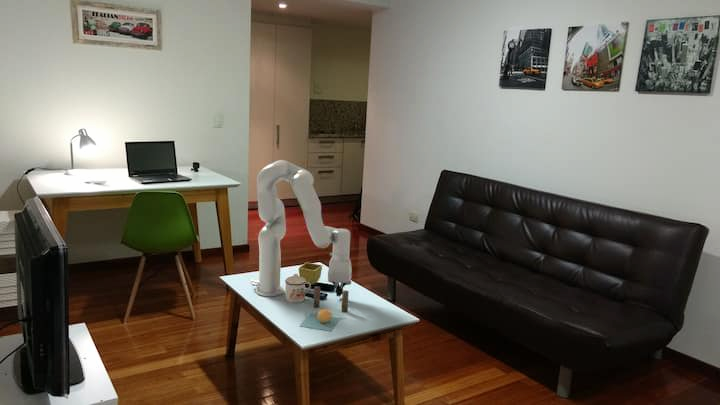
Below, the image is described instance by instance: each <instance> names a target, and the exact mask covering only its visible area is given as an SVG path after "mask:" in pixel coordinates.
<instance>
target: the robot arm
mask: <svg viewBox="0 0 720 405" xmlns="http://www.w3.org/2000/svg"><path fill="white" fill-rule="evenodd" d="M314 180H315V179H314V176H313V174H312V173H311V172H310V171H309V170H307V169H305V168H303V167H300V166H299V165H296V164H294V163H292V162H289V161H287V160H285V159H279V160H276V161H275V162H274V161H273V162H272V163H270V164H268V165H266V166H265V167H264V168H262V169H261V170H260V171H259V173H258V175H257V178H256V192H257V209H258V216H259V218H260V220H261V221H263V222H264V223H265V225H264V226H263V227H262V228H261V229H260V231H259V233H258V237H257V238H258V240H257V241H258V250H259V258H258V259H259V264H258V265H259V266H258V267H259V268H258V269H259V270H258V277H259V278H258V280H256V279H251V282H250V283H251V287H256V288H255V293H256V295H259V296H262V297H276V296H279V295H282V294H284V287H283V286H281V264H282V263H281V257H282V256H281V255H282V254H281V252H282V250H281V241H282V239H284V237H285V235H286V232H287V225H286V224H287V223H286V210H285V206H284V203H283V201H282V200H281V199H280V198H278V193H277V186H276V184H277V183H279V182H281V181H286V182H289V183H290V184H291V188H292V190H293V192H294V194H295V196H296V198H297V201H298V203H299V206H300V208H301V210H302V213H303V218H304V220H305V225H306V228H307V231H308V233H309V236H310V237H311V240H312V242H313V243H314V245H315V246H316V247H317V248H319V249H320V248H321V249H325V248H328V247H329V245H331V244H332V252H329V255H328V256H330V257H331V258H330V260H329V265H328V272H327V281H328V282H329V283H331V284H332V285H334V288H335V294H336V297H342V291H344V287H345V286H349V285H351V284H352V276H353V274H352V273H353V272H352V270H353V269H352V261H351V259H350V254H351V253H350V248H351V231H350V230H349V229H347V228H336V227H333V226H327V225H325V224H324V221H323V218H322V217H323V216H322V203H321V201H320V199H319V196H318V195H317V193H316V190H315V188H314Z"/></svg>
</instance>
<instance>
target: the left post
mask: <svg viewBox="0 0 720 405" xmlns="http://www.w3.org/2000/svg"><path fill="white" fill-rule="evenodd" d="M313 287H314V288H313V290H314V291H313V308H314V309H320V305H321V304H320V303H321V301H320V300H321V286H313Z"/></svg>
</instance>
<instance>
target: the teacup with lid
mask: <svg viewBox="0 0 720 405" xmlns="http://www.w3.org/2000/svg"><path fill="white" fill-rule="evenodd" d="M305 284H309V285H308V287H307V289H306V285H305ZM311 288H312V286H311V284H310V283H309V282H306V280H305V279H304V278H303V277H300V276H299V273H294V274H293V275H292V276H289V277H287V278H285V295H284V296H285V297H284V298H285V301H286V302H288V303H293V304H294V303H295V304H296V303H301V302H303V301H305V299H306V294H307V293H308V292H310V290H311Z"/></svg>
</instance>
